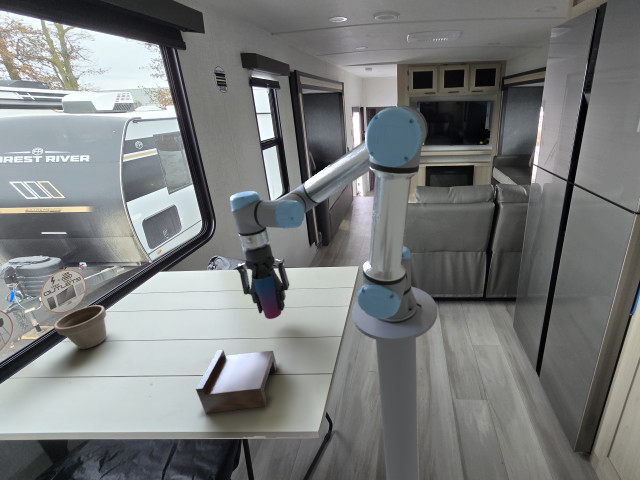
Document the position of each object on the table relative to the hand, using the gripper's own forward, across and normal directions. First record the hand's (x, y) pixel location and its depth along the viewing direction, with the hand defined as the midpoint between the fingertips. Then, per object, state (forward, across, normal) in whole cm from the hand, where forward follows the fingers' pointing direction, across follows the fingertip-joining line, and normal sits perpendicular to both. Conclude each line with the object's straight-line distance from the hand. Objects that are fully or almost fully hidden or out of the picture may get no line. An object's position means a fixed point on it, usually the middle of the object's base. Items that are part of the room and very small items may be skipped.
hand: (272, 309), depth 99 cm
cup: (+2, 0, 0) cm, 2 cm away
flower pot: (+6, -57, +1) cm, 58 cm away
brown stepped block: (+7, -2, -24) cm, 25 cm away
